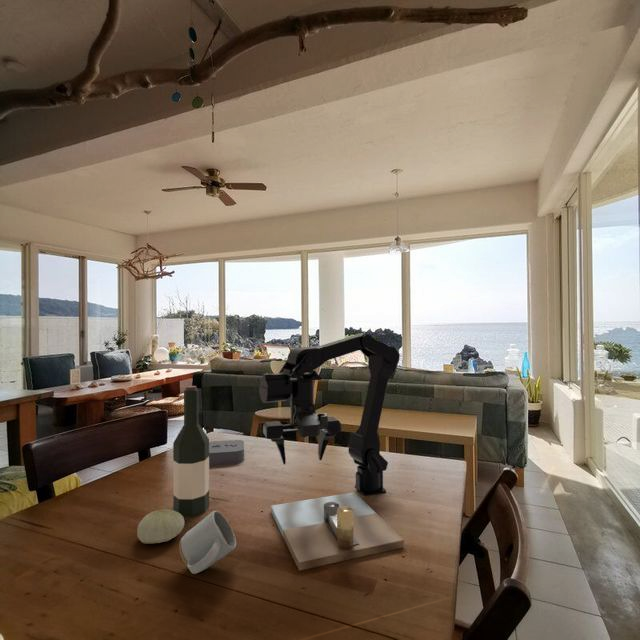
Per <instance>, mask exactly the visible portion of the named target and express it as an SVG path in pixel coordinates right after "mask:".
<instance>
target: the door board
mask: <svg viewBox="0 0 640 640" xmlns="http://www.w3.org/2000/svg"><path fill="white" fill-rule="evenodd" d="M327 502H336V503H338V504H339V507H343V506H346V507H350V508H352V509H353V546H352V547H349V548H342V547H340V546H338V544H337V537H336V535H335V533H334V531H333V529H332V528H331V526H330V524H329V523H328V522H326V521H324V504H325V503H327ZM270 512H271V514H272V515H271V516H272V517H273V519H274V521H275V523H276V525H277V528H278V530H279V531H280V534H281V535H282V538H283V540H284V542H285V545H286V546H287V548H288V550H289V552H290V555H291V557H292V559H293V561H294V563H295V565H296V567H297V569H298V571H304V570H309V569H313V568H317V567H322V566H326V565H331V564H334V563H339V562H345V561H348V560H354V559H357V558H362V557H366V556H371V555H375V554H380V553H385V552H388V551H393V550H394V551H395V550H398V549H402V548H404V546H405V544H404V543H405V541H404V539H403V537H401V535H400V534H398V532H396V531H395V530H394V529H393V528H392V527H391V526H390V525H389V524H388V523H387V522H386V521H385V520H384V519H383V518H382V517H381V516H379V514H378V513H377V512H376V511H374V510H373V508H372V507H370V506H369V505H368V503H366V502H365V501H364V500H363V499H362V498H361V497H360V496H359V495H358V494H357V493H356V492H355V491H354V492H353V491H352V492H347V493H341V494H334V495H330V496H322V497H317V498H311V499H304V500H298V501H291V502H286V503H281V504H280V503H279V504H273V505H270Z"/></svg>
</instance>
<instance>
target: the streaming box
mask: <svg viewBox="0 0 640 640" xmlns="http://www.w3.org/2000/svg"><path fill="white" fill-rule="evenodd" d="M244 442H245V441H244V440H242V439H231V440H229V439H227V440H215V441H209V466H220V465H221V466H222V465H230V464H231V465H232V464H240V463H243V462H244V461H245V443H244Z"/></svg>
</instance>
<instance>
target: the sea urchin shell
mask: <svg viewBox="0 0 640 640" xmlns="http://www.w3.org/2000/svg"><path fill="white" fill-rule="evenodd" d="M185 524H186V523H185V517H183V516H182V515H181V514H180V513H178V512H176V511H174V510H173V509H170V508H169V509H168V508H163V509H158V510H154V511H151V512H149V513H147V514H145V516H144V517H142V519H141V521H139V523H138V525H137V531H136V533H137V534H136V537H137V538H138V540H139V541H140V542H141V543H142V544H146V545H147V544H160V543H165V542H168V541H170V540H172V539H173V538H176V537H177V536H178V535H180V533H182V531H183V529H184V527H185Z"/></svg>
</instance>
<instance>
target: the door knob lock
mask: <svg viewBox="0 0 640 640" xmlns="http://www.w3.org/2000/svg"><path fill="white" fill-rule="evenodd" d="M324 521H326V522H328V523H329V524H330V526H331V528H332V529H333V531H334V533H335V535H336V537H337V544H338V546H340V547H342V548H349V547H352V546H353V509H352V508H350V507H346V506H343V507H339V504H338V503H336V502H327V503H325V504H324Z"/></svg>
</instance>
